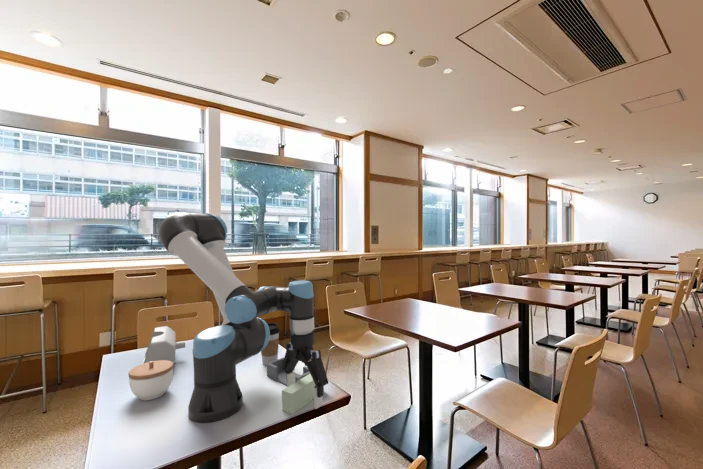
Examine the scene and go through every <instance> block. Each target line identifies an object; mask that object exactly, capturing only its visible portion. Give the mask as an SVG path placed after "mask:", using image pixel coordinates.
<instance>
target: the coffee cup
mask: <svg viewBox="0 0 703 469" xmlns="http://www.w3.org/2000/svg"><path fill="white" fill-rule="evenodd" d="M267 324H268V327H269V330H270V339H269V341H268V344H267V346H266V347H265V348H264V349H263V350H262V351H260V353H261V361H262V362H261V363H262V365H263V366H267V363H270V362H273V361H275V360H278V359H279V358H278V357H279V355H278V354H279V344H280V336H279V334H280V332H281V331H280V327H279V324H278V323H276V322H269V323H267Z"/></svg>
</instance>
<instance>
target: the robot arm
mask: <svg viewBox="0 0 703 469" xmlns="http://www.w3.org/2000/svg"><path fill="white" fill-rule="evenodd" d="M158 229H159V230H158V237H159V241H160V243H161V245H162V246H163V248H164V249H165V250H166V251H167V252H168V253H169V254H170V255H172V256H175V257H178V258H179V259H180V260H181V261H182V262H183V263H184V264H185V266H187V267H188V268H189V270H190V271H192V272H193V273H194V274H195V275H196V276H197V277H198V278H199V279H200V280H201V281H202V282H203V283H204V284H205V285H206V286H207V288H209V289H210V290H211V291H212V293H213V296H214V298H215V301H216V304H217V306H218V308H219V311H220V313H221V316H222V319H223V321H222V324H221V325H216V326H211V327H208V328H206V329H204V330H201V331H200V332H198V333H197V334H196V336H195V337H194V339H193V343H192V344H193V347H192V356H193V357H192V360H193V385H194V386H193V390H192V394H191V396H190V397H191V398H190V400H189V403H188V407H187V408H188V414H187V416H188V417H189V419H190V420H192V421H194V422H197V423H211V422H212V423H213V422H216V421H217V422H218V421H221V420H224V419H227V418H229V417H231V416H232V415H235V413H237V412H239V410H241V408H242V407H243V405H244V404H243V403H244V399H243V398H244V396H243V392H242V390H241V388H240V385H239V383H238V380H237V368H236V367H237V365H238V364H240V363H242V362H244V361H246V360H248V359H249V358H252V357H255V356H256V355H258V354H259V353H261V351H262V350H263V349H264V348H265V347H266V346H267V344H268V341H269V339H270V330H269V327H268V323H267V322H266V320H264V319H263V318H261V317H262V316H265V315H267V314H271V313H272V312H275V311H276V312H277V311H281V312H289V330H290V332H289V334H290V335H289V336H290V338H289V339H290V342H289V343H288V342H287V343H286V349H285V350H286V351H285V354H284V357H283V358H284V361H283V364H282V370H285V372H286V375H287V386H286V388H287V387H288V386H290V385H292V384H293V383H295V373H296V371H295V368H296V367H297V364H298V363H299V362H301V363H303V364H304V367H305V366H306V367H308V369H309V372H310V374H311V376H312V378H313V381H314V383H315V386H314V399H313V407H314V409H315V410H317V409H319V408H320V407H323V406H324V402H323V396H324V392H323V386H324V387H325V386H326V385H328V384H329V380H328V376H327V373H326V370H325V367H324V363H323V360H322V352H321V350H320V349H318V350H315V349H314V348H313V346H314V343H315V342H316V341H315V340H316V335H315V314H314V313H315V312H314V309H315V308H314V297H315V294H314V287H313V286H314V285H313V282H312V281H310V280H294V281H290V282H289V283H288V287H287V286H273V285H267V286H260V287H259V288H258V289H257V290H256V291H252V290H251V289H250V288H249V287H248V286H247V285H246V284H245V283H243V282H242V281H241V280H240V279H239V278H238V277H237V276H236V274H235V272H234V270H233V268H232V265H231V263H230V260H229V258H228V256H227V253H226V251H225V246H226V244H227V242H226V240H227V237H228V234H227V233H228V227H227V224H226V222H225V221H224V220H223V218H221V217H220V216H218V215H216V214H212V213H207V212H206V213H205V212H203V213H199V212H198V213H194V212H174V213H172V214H170V215H168V216H166V217H165V218H164V219H163V221H161V223H160V225H159V228H158ZM286 364H287V365H286ZM292 371H293V372H292ZM318 381H319V382H318Z"/></svg>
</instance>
